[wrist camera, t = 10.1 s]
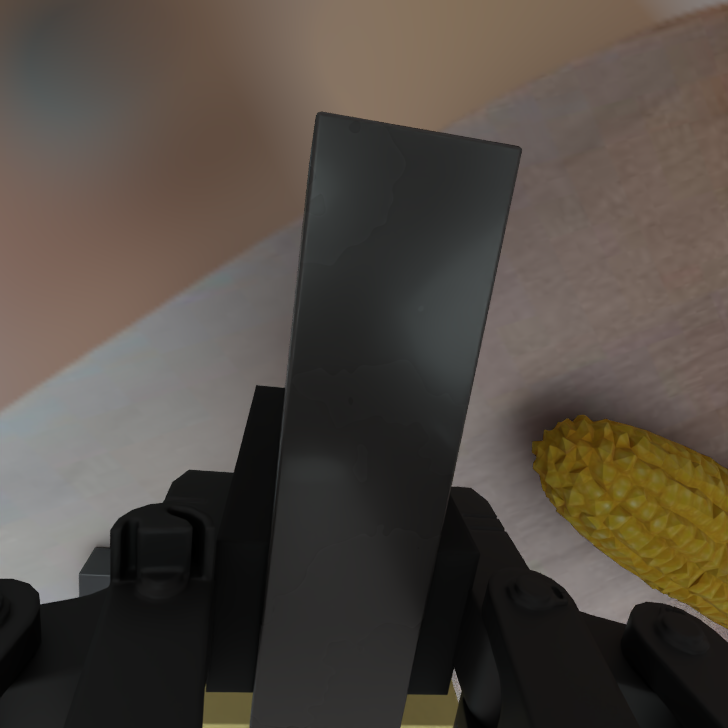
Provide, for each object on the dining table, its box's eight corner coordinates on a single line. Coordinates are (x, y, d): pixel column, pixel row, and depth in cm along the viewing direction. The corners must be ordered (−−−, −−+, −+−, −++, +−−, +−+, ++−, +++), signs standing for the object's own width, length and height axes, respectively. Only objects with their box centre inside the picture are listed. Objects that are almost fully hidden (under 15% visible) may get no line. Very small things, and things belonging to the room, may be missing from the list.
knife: (309, 160, 12) (317, 109, 6) (409, 176, 13) (524, 146, 6) (235, 849, 19) (196, 1209, 12) (303, 848, 19) (302, 1195, 12)
